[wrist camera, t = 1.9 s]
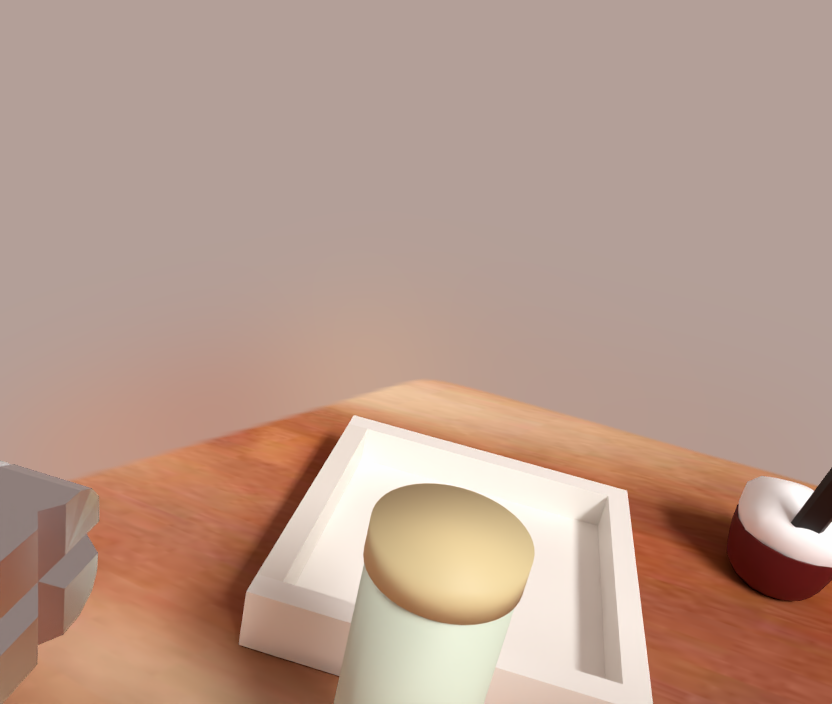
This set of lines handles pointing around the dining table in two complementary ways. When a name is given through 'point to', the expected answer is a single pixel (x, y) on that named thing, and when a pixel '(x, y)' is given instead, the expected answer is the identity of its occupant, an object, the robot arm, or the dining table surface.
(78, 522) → the robot arm
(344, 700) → the tea tin
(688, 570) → the dining table surface
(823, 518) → the cocoa
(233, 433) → the dining table surface
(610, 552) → the dish
